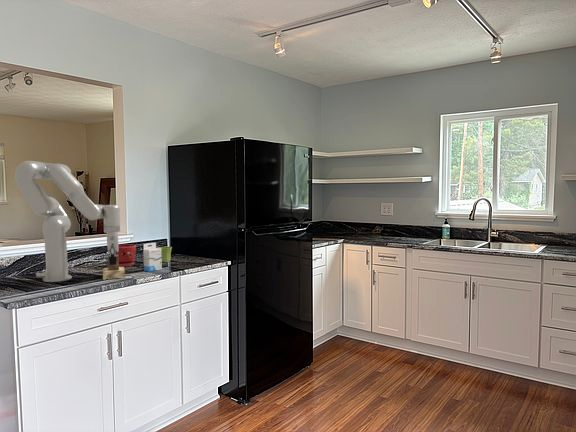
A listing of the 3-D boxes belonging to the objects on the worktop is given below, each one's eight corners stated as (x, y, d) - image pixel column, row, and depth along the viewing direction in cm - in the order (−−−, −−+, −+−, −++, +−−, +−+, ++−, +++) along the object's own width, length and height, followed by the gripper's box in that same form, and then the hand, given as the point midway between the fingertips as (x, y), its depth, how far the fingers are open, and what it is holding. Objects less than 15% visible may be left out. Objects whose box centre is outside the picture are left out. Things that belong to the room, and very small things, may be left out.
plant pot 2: (153, 262, 265) (152, 247, 264) (165, 259, 272) (165, 246, 272) (163, 263, 259) (163, 249, 259) (175, 261, 267) (175, 247, 267)
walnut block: (108, 270, 218) (107, 256, 218) (108, 268, 223) (107, 255, 222) (118, 269, 220) (118, 256, 220) (118, 268, 225) (118, 254, 224)
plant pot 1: (131, 267, 247) (130, 246, 246) (108, 267, 247) (107, 246, 246) (139, 263, 260) (139, 243, 259) (117, 263, 260) (117, 243, 259)
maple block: (103, 279, 215) (102, 271, 215) (103, 276, 225) (103, 268, 224) (124, 278, 219) (124, 270, 219) (124, 274, 228) (123, 266, 228)
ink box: (149, 272, 235) (148, 244, 234) (143, 271, 237) (142, 244, 236) (162, 269, 242) (161, 242, 240) (156, 268, 244) (155, 242, 243)
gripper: (120, 230, 213) (121, 265, 215) (119, 227, 229) (120, 259, 231) (103, 231, 211) (104, 266, 212) (104, 228, 227) (104, 260, 228)
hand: (112, 262), depth 221 cm, fingers open, 9 cm apart
